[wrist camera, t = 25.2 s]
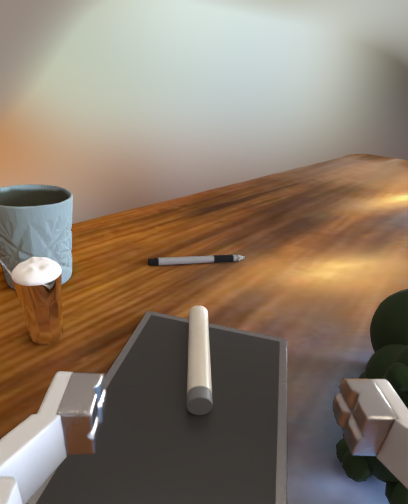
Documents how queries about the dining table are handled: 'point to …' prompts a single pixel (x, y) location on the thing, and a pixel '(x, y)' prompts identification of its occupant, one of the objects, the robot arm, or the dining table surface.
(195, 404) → the white cylindrical rod
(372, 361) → the toy figurine
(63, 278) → the grey embossed cup
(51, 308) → the milkshake
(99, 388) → the robot arm
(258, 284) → the dining table surface
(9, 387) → the dining table surface
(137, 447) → the tablet
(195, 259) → the pen
